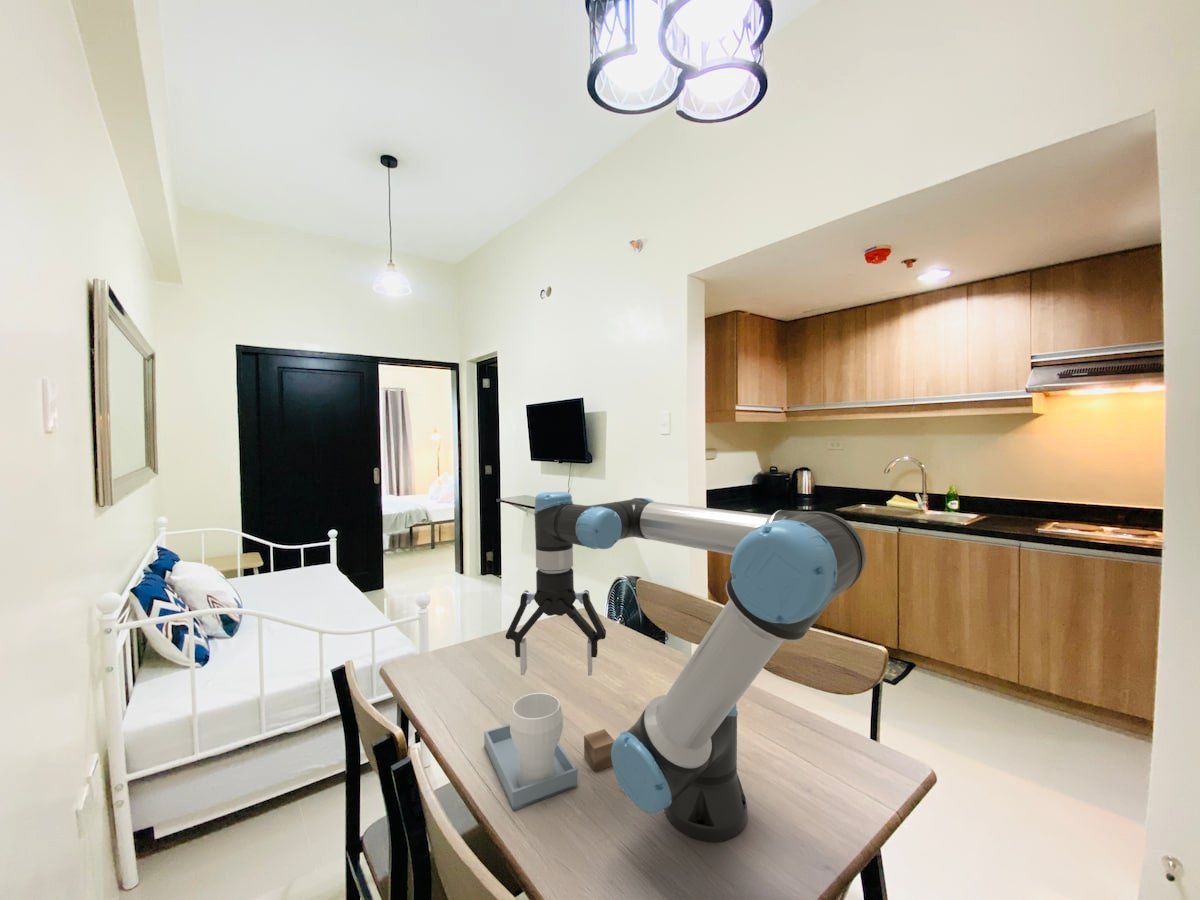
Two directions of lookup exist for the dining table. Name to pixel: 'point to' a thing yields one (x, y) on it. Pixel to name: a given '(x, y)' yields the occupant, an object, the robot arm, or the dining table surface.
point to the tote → (508, 769)
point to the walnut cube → (598, 750)
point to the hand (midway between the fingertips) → (556, 672)
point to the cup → (536, 735)
